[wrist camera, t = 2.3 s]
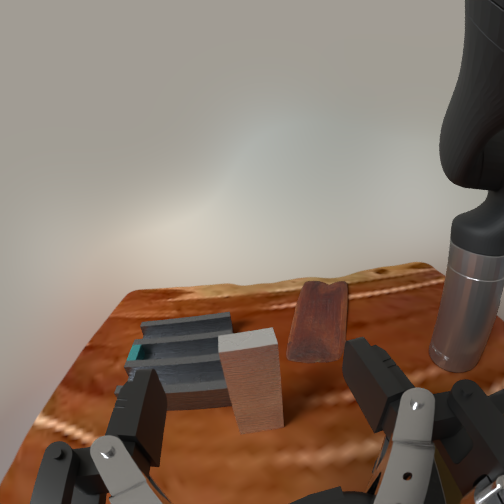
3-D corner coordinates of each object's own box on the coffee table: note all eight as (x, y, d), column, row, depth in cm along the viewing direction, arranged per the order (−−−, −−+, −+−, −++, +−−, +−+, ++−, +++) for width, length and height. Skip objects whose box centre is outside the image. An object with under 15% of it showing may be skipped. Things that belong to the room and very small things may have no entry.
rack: (232, 328, 47) (229, 311, 46) (241, 404, 30) (237, 386, 29) (147, 337, 46) (142, 322, 45) (124, 410, 29) (114, 393, 28)
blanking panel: (279, 411, 29) (272, 327, 24) (284, 427, 26) (277, 343, 22) (238, 418, 28) (218, 335, 24) (240, 434, 26) (218, 352, 22)
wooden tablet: (303, 284, 62) (303, 278, 61) (347, 285, 59) (347, 278, 58) (276, 363, 38) (276, 355, 38) (344, 367, 35) (345, 359, 34)
